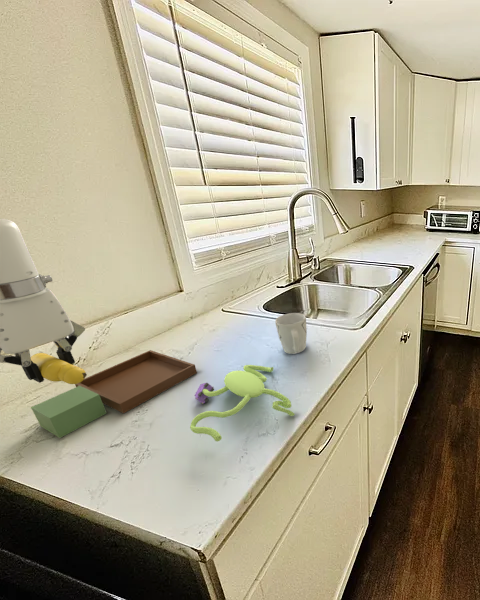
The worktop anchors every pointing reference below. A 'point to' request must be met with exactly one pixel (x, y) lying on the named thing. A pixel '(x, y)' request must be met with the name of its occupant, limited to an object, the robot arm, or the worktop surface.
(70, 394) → the block
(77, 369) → the yellow stacked capsules
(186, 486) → the worktop surface
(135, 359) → the tray
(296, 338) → the mug
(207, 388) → the figurine
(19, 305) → the robot arm
